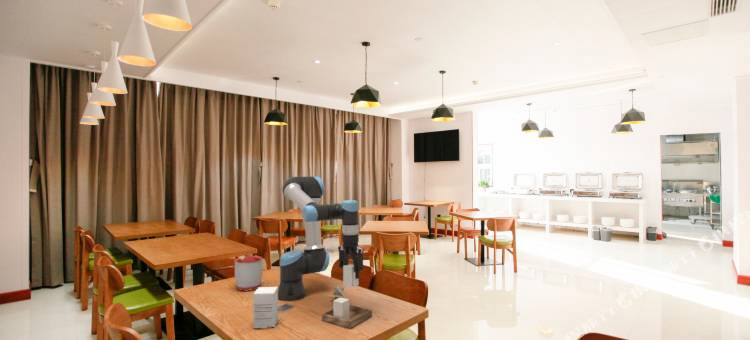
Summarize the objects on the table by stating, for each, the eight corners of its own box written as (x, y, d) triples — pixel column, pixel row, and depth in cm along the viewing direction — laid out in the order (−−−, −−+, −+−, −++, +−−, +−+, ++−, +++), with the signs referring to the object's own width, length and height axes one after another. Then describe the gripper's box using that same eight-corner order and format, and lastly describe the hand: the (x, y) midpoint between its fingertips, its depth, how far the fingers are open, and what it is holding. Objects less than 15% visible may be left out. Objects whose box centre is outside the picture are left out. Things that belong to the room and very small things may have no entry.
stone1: (333, 321, 153) (333, 300, 154) (340, 317, 158) (340, 297, 158) (342, 323, 151) (342, 302, 151) (349, 319, 155) (349, 299, 155)
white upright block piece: (343, 285, 160) (343, 265, 160) (350, 283, 164) (350, 263, 164) (351, 287, 157) (351, 267, 158) (358, 284, 161) (358, 265, 162)
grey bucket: (254, 281, 214) (254, 249, 215) (267, 288, 202) (267, 253, 202) (228, 287, 204) (228, 253, 204) (240, 294, 191) (240, 258, 191)
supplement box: (258, 320, 156) (257, 286, 157) (278, 319, 157) (278, 286, 157) (252, 329, 147) (252, 293, 148) (274, 328, 148) (274, 292, 148)
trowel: (267, 319, 158) (267, 314, 158) (258, 316, 161) (258, 311, 161) (294, 307, 171) (294, 303, 171) (285, 305, 174) (285, 301, 174)
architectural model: (341, 304, 177) (341, 289, 177) (329, 302, 179) (329, 287, 179) (344, 301, 180) (344, 287, 180) (332, 300, 182) (332, 285, 183)
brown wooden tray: (321, 320, 155) (321, 314, 155) (344, 309, 169) (344, 303, 169) (350, 329, 146) (350, 322, 146) (371, 316, 160) (371, 309, 160)
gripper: (330, 233, 164) (331, 283, 163) (360, 236, 153) (361, 290, 153) (340, 231, 170) (341, 279, 169) (370, 234, 159) (371, 285, 159)
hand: (351, 284), depth 161 cm, fingers closed on white upright block piece, 5 cm apart
